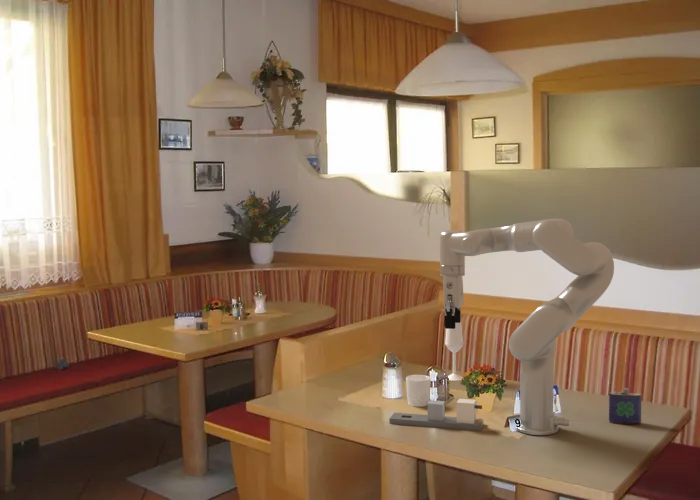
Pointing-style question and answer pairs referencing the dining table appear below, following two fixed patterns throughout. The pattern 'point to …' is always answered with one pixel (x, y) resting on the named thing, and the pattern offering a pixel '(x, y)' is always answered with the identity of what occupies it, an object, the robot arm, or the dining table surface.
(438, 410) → the grey block
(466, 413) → the ivory charger
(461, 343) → the champagne flute
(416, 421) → the strip
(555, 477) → the dining table surface
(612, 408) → the flask
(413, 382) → the white cup
